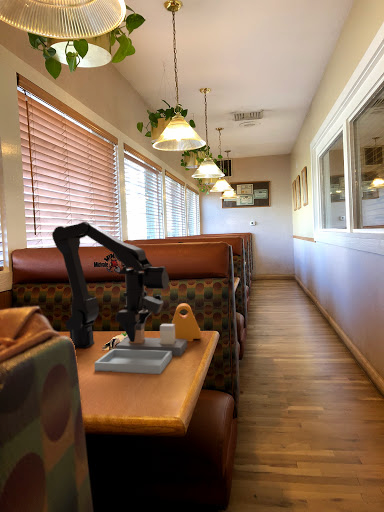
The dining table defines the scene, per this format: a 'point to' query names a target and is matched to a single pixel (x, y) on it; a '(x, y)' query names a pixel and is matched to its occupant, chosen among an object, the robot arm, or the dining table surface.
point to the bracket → (185, 324)
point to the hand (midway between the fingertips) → (136, 338)
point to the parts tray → (134, 361)
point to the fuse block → (155, 345)
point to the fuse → (167, 334)
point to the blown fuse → (139, 334)
